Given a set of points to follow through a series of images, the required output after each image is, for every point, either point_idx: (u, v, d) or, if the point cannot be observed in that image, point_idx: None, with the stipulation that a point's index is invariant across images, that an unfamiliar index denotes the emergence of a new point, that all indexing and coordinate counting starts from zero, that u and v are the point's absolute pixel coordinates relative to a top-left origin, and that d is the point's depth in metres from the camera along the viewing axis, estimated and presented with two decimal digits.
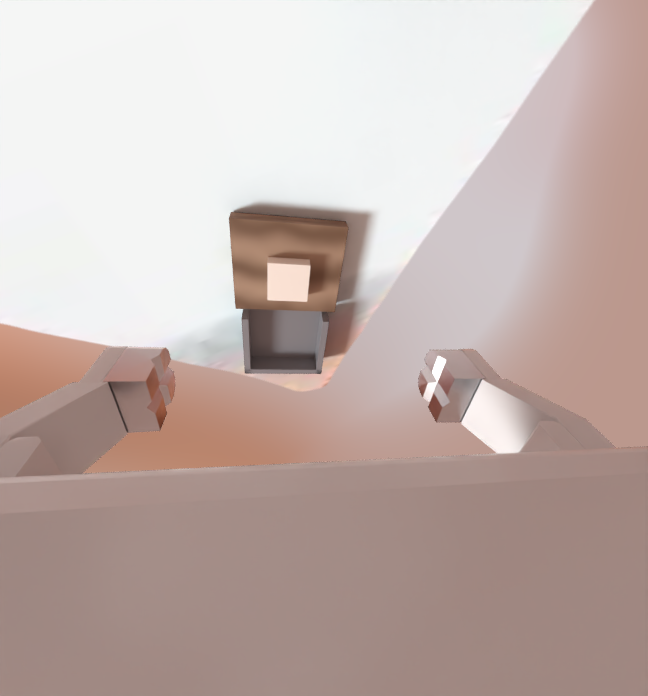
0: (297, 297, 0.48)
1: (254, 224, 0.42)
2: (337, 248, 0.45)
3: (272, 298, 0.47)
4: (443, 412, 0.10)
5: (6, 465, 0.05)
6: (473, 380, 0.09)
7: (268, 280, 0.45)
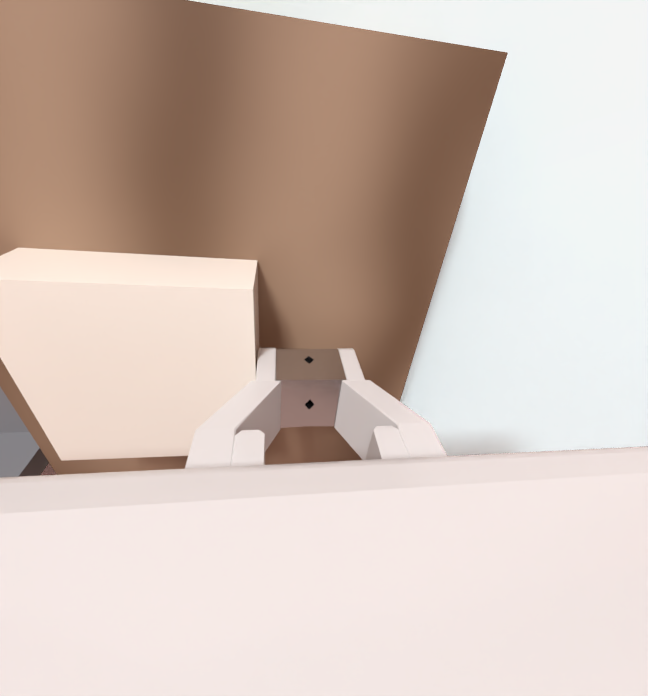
0: (65, 426, 0.09)
1: (440, 206, 0.09)
2: None
3: None
4: (311, 415, 0.09)
5: (249, 454, 0.06)
6: (334, 381, 0.08)
7: (132, 288, 0.07)
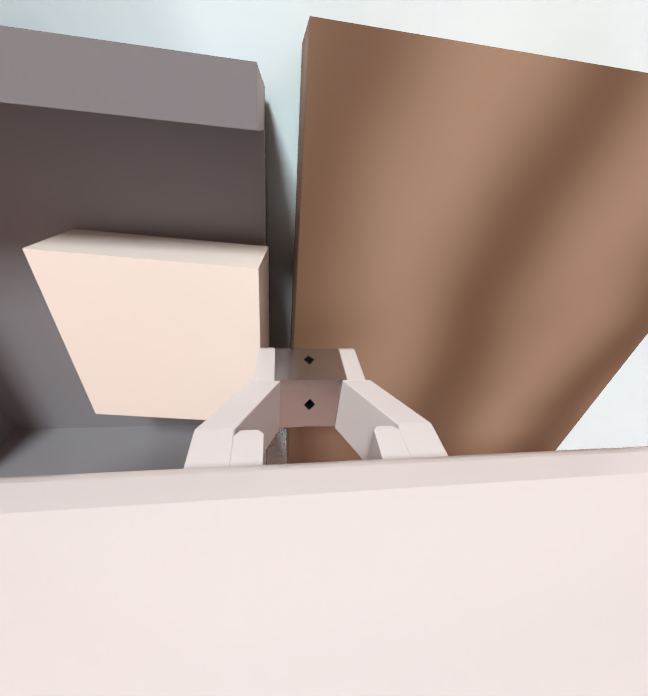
0: (100, 382, 0.11)
1: None
2: None
3: (47, 277, 0.09)
4: (311, 415, 0.09)
5: (248, 454, 0.06)
6: (335, 381, 0.08)
7: (157, 263, 0.08)
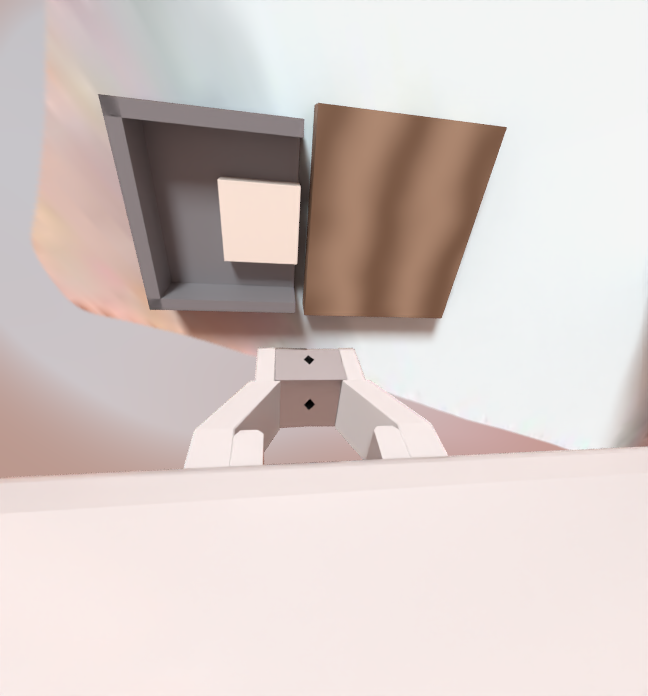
0: (230, 242, 0.25)
1: (483, 176, 0.25)
2: (416, 308, 0.31)
3: (223, 191, 0.23)
4: (311, 415, 0.09)
5: (248, 453, 0.06)
6: (335, 381, 0.08)
7: (265, 184, 0.23)
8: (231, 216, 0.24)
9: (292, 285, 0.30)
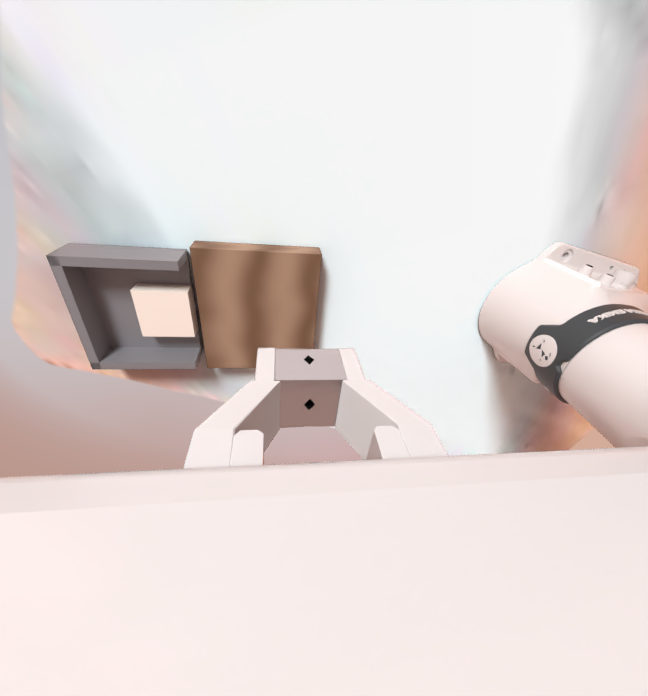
0: (145, 325, 0.37)
1: (314, 281, 0.37)
2: None
3: (135, 296, 0.35)
4: (311, 415, 0.09)
5: (247, 454, 0.06)
6: (335, 381, 0.08)
7: (162, 292, 0.35)
8: (143, 310, 0.36)
9: (199, 346, 0.42)
